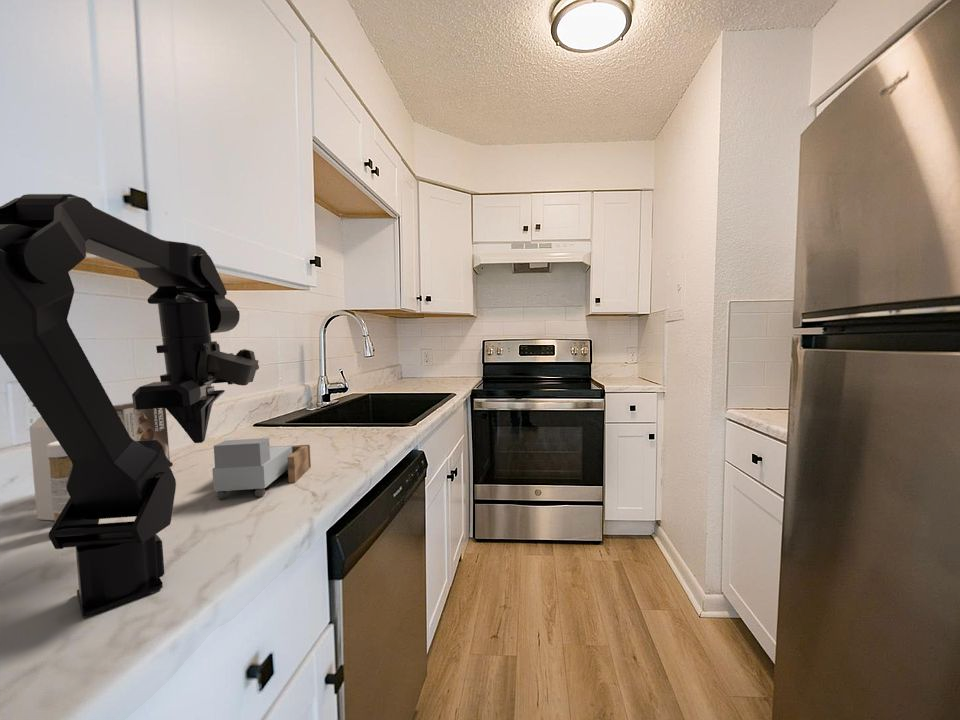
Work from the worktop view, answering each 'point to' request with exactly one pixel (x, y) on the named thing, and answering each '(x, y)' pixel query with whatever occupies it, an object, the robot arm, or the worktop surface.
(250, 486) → the trolley
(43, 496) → the milk carton
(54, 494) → the sprinkles bottle
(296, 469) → the bay
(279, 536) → the worktop surface
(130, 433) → the coffee box
